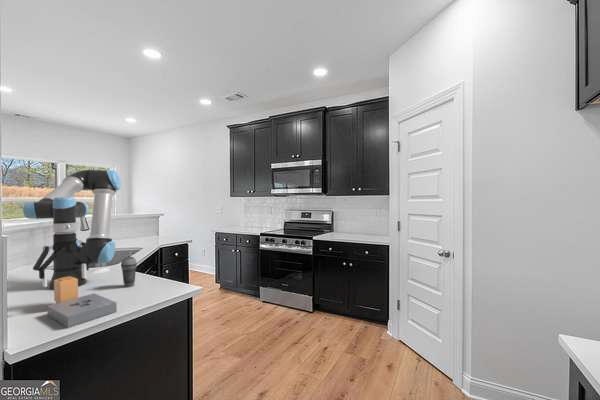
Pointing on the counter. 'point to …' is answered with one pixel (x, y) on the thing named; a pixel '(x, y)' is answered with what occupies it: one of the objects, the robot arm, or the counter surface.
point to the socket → (81, 309)
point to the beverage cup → (129, 270)
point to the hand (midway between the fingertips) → (65, 282)
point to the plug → (65, 289)
